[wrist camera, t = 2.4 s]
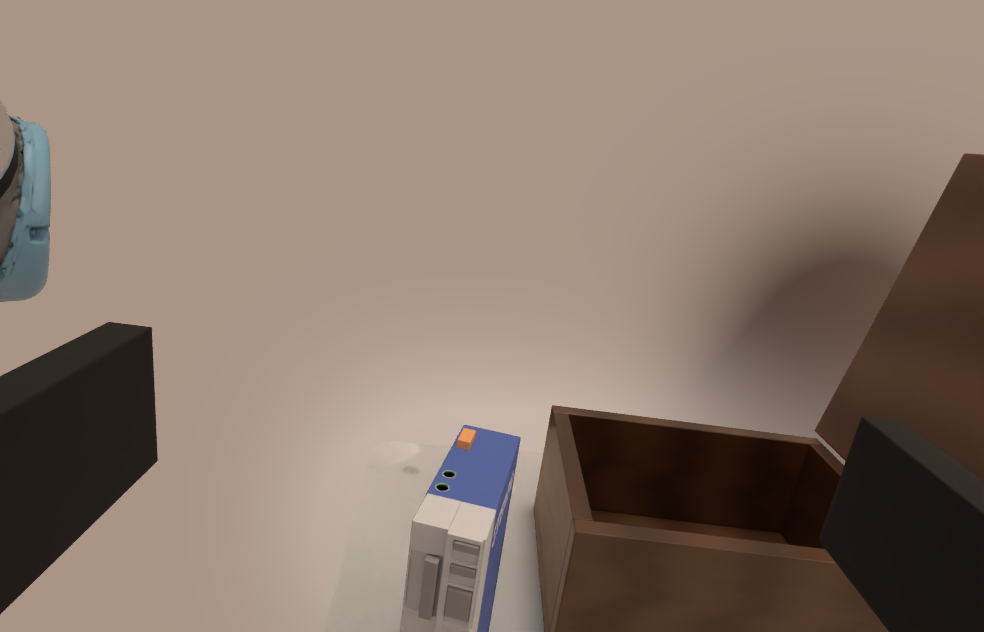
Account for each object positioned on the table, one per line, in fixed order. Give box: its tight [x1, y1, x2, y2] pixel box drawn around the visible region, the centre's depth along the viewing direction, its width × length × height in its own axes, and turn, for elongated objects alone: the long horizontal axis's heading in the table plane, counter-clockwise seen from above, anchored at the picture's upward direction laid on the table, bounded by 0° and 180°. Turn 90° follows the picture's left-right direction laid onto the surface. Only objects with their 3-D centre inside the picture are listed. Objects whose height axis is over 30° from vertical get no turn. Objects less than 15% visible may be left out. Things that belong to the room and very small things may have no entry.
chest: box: [534, 406, 889, 632], centre depth 35 cm, size 18×13×8 cm
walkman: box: [400, 425, 520, 632], centre depth 26 cm, size 8×3×12 cm, turn 168°
